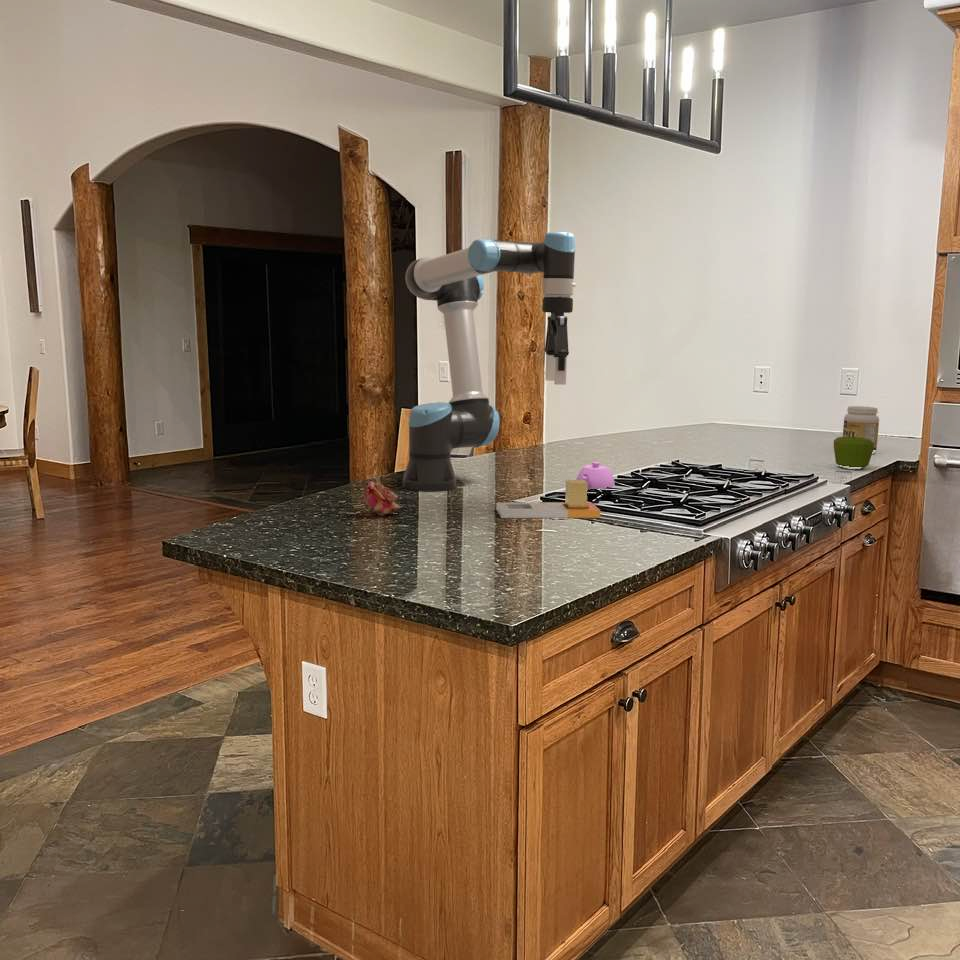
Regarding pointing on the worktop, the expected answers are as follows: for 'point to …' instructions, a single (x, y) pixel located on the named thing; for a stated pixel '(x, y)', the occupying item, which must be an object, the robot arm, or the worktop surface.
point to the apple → (853, 451)
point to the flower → (380, 499)
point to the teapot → (596, 476)
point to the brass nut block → (576, 494)
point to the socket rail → (544, 510)
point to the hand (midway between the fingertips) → (555, 382)
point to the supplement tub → (862, 423)
